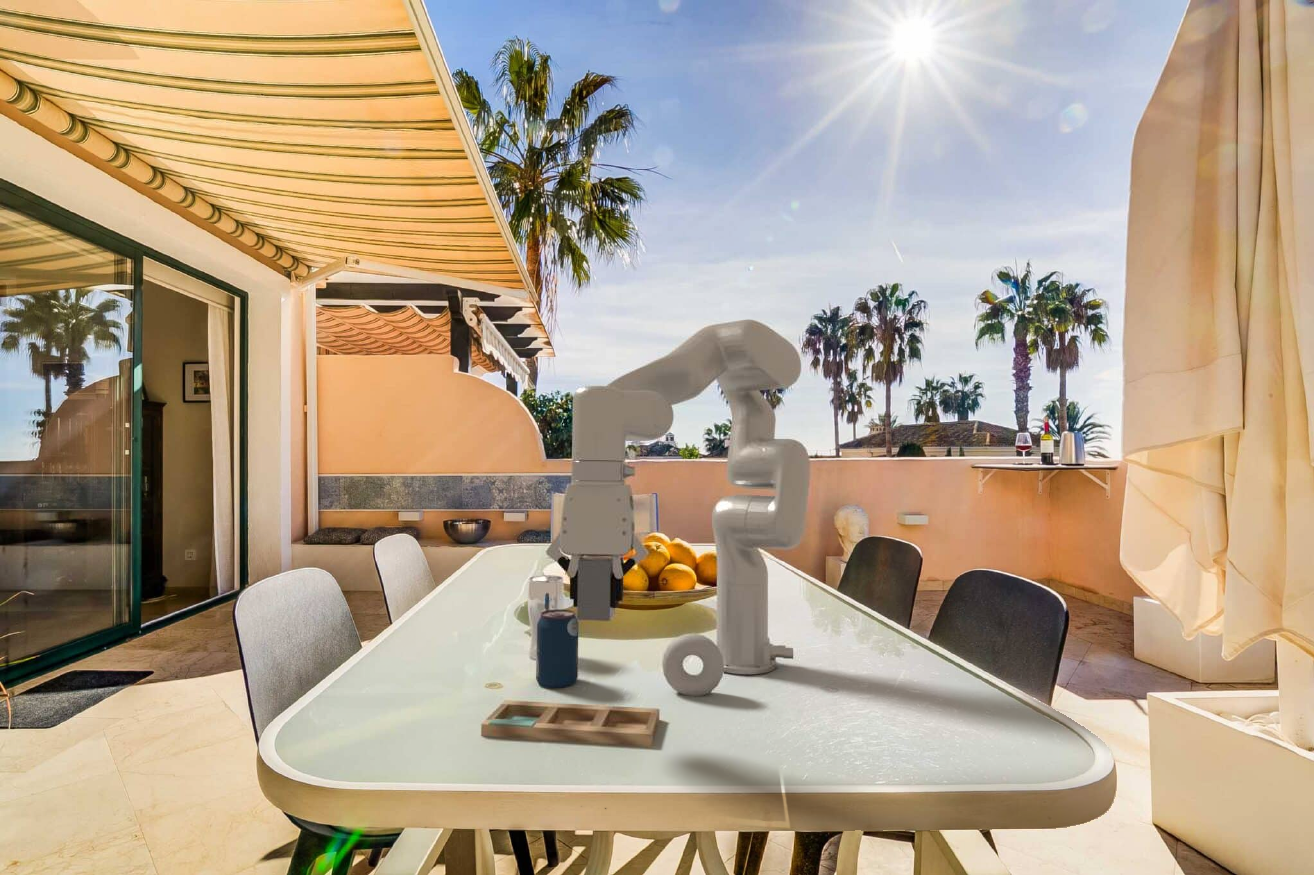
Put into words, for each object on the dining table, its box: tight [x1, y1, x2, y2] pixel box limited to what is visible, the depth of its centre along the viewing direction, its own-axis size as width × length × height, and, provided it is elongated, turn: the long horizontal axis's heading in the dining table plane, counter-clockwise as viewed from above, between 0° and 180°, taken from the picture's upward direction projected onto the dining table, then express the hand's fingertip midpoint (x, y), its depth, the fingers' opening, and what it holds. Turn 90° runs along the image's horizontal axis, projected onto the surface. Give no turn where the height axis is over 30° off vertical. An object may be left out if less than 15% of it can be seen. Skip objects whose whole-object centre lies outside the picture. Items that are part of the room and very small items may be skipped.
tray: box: [480, 699, 661, 748], centre depth 89 cm, size 23×9×2 cm, turn 83°
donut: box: [661, 632, 724, 697], centre depth 103 cm, size 10×4×10 cm, turn 82°
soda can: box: [535, 608, 579, 689], centre depth 108 cm, size 7×7×12 cm
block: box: [576, 556, 616, 622], centre depth 89 cm, size 4×4×8 cm
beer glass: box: [527, 574, 565, 660], centre depth 124 cm, size 7×7×15 cm
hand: (596, 604), depth 89 cm, fingers closed on block, 4 cm apart
